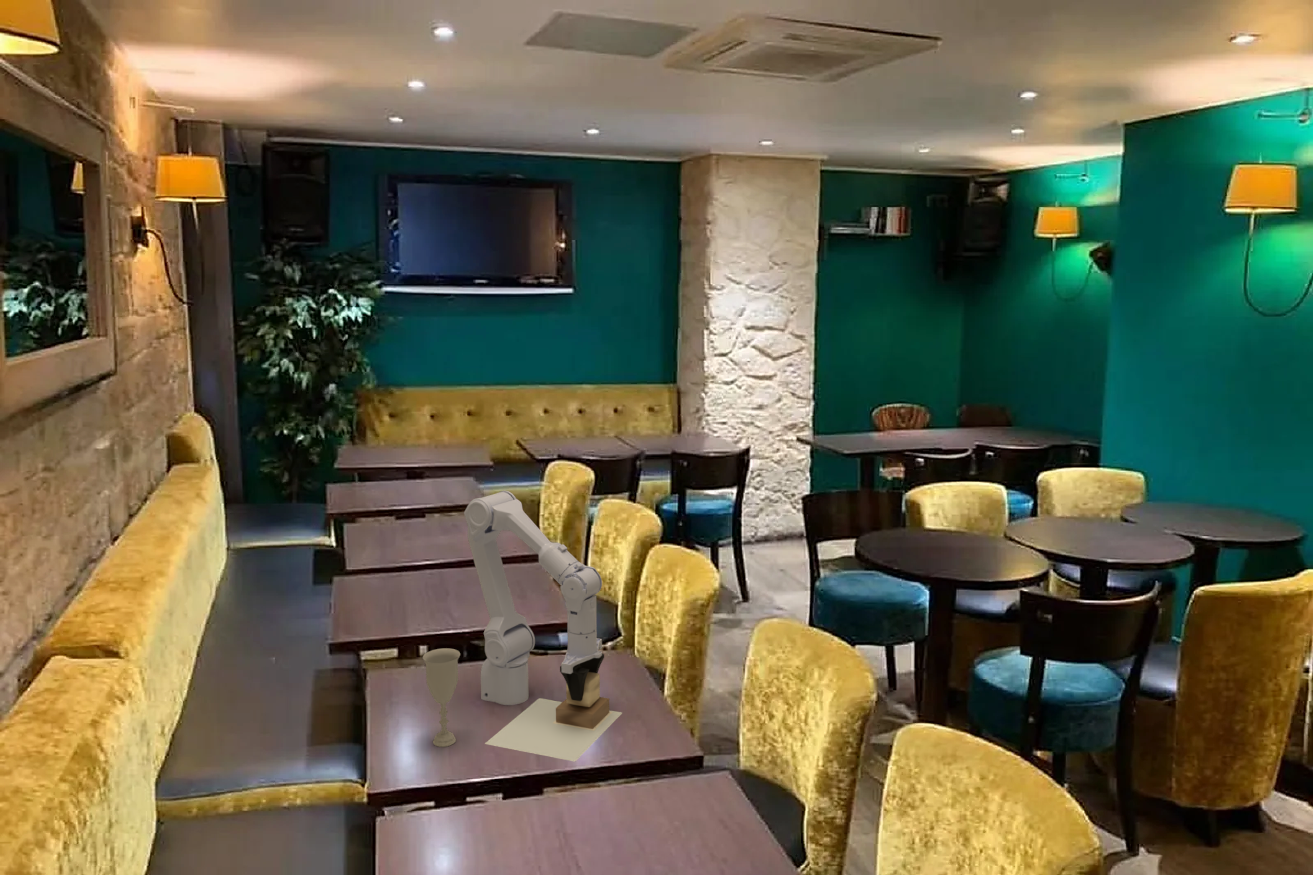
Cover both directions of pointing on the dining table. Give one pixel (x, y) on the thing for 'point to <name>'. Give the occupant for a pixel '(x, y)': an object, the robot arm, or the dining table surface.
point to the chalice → (442, 686)
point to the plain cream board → (549, 732)
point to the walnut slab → (582, 713)
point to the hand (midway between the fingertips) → (582, 694)
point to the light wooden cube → (587, 691)
